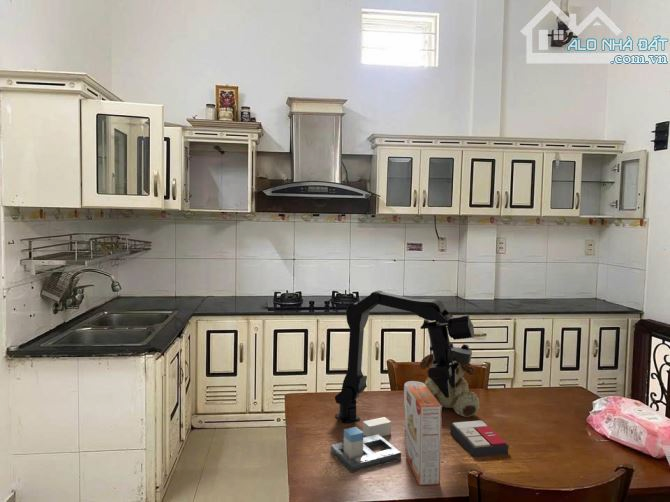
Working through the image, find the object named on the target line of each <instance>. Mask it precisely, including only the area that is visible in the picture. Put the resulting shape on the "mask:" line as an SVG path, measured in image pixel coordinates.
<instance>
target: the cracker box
mask: <svg viewBox="0 0 670 502" xmlns="http://www.w3.org/2000/svg"><path fill="white" fill-rule="evenodd" d="M442 410H443V407H442V406H441V405H440V403H439V402H438V401H437V399H436V398H435V397H434V396H433V394H432V393H431V392H430V391H429V389H428V388H427V387H426V386H408V387H407V414H406V421H405V431H406V433H405V436H406V437H405V458H406V460H407V462H408V465H409V466H410V469H411V472H412V473H413V475H414V477H415V479H416V482H417V484H418V485H419V486H433V485H434V486H435V485H436V486H437V485H440V484H441V456H442V453H441V452H442V451H441V449H442V448H441V447H442V412H443V411H442Z"/></svg>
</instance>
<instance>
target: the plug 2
mask: <svg viewBox="0 0 670 502" xmlns="http://www.w3.org/2000/svg"><path fill="white" fill-rule="evenodd" d="M362 432H363V436H364V437H369V436H373V435H377V434H379V435H380V436H381V437H386V436H389V435H392V421H391V420H389V418H387V417H385V416H383V417H379V418H372V419H369V420H363V421H362Z"/></svg>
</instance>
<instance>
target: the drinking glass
mask: <svg viewBox="0 0 670 502" xmlns="http://www.w3.org/2000/svg"><path fill="white" fill-rule="evenodd" d="M408 386H426V385H425V382H421V381H417V380H416V381H415V380H410V381H406V382H405V383H404V386H403V401H404V404H403V405H404V416H405V418H404V420H405V421H404V422H406V414H407V387H408Z"/></svg>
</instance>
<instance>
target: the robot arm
mask: <svg viewBox="0 0 670 502" xmlns="http://www.w3.org/2000/svg"><path fill="white" fill-rule="evenodd" d="M379 305H381V306H384V307H389V308H393V309H397V310H402V311H406V312H410V313H413V314H414V315H416V316H418V317H419V318H422V319H424V320H423V322H422V325H421V326H420V327H419V328H420V329H421V330H425V329H426V330H427V331H428V337H429V341H430V346H429V350H430V351H431V352H432V353H433V357H434V360H433V364H436V365H432V366H431V365H430V366H429V367H428V370H427V372H426V373H427V375H428V376H427V378H428V377H429V378H431V380H433V381H434V383H435V384H436V385H437V386H438V388H439V389H440V391H441V392H442V393H443V395H444V396H445V397H446V398H448V397H449V384H450V386H451V387H452V388H454V387H455V376H456V368H457V366H458V365H459V363H460V362H461V363H463V364H466V365H468V364H469V363H470V364H471V362H472V354H473V350H472V349H470V346H469V345H468V344H465V343H464V344H462V345H461V346H458V347H455V346H454V344H453V342H452V341H450V338H451V339H453V340H454V341H455V340H464V339H465V340H467V339H474V337H475V328H474V323H472V320H471V318H470V315H469V314H464V315H461V316H454V315H452V314H451V313H450V312H449V311H448V310H447V309H446V308H445V305H444V303H443V301H441V300H439V299H437V298H436V299H434V298H421V299H420V298H412V297H407V296H403V295H398V294H393V293H389V292H384V291H382V290H375V291H372V292H371V293H370V294H369V295H368V296H366V297H365V298H363V299H361V300H360V301H356V302H354V303H352V304H349V305H348V306H347V307H346V309H345V310H346V311H345V316H346V323H347V326H348V328H349V336H348V337H349V339H348V341H349V342H348V357H347V358H348V359H347V371H346V374H345V375H344V376H345V377H344V378H343V381H342V387H341V391H340V392H338V393H337V394H336V395H335V396H334V399H335V403H336V404H338V413H335V414H334V416H335V417H336V418H337V419H338V420H339V421H340V422H341V423H343V424H345V423H351V422H356V421H360V420H361V417H360V416H358V415H357V399H359V398H360V395H361V394H362V393H364V391H365V390H366V388H367V387H368V386H367V380H368V375H364V374H363V372H362V371H363V370H362V363H363V349H364V348H363V347H364V331H365V328H366V325H367V323H368V321H369V316H370V311H371V310H373V309H374V308H375V307H377V306H379ZM455 361H457V362H455Z"/></svg>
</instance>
